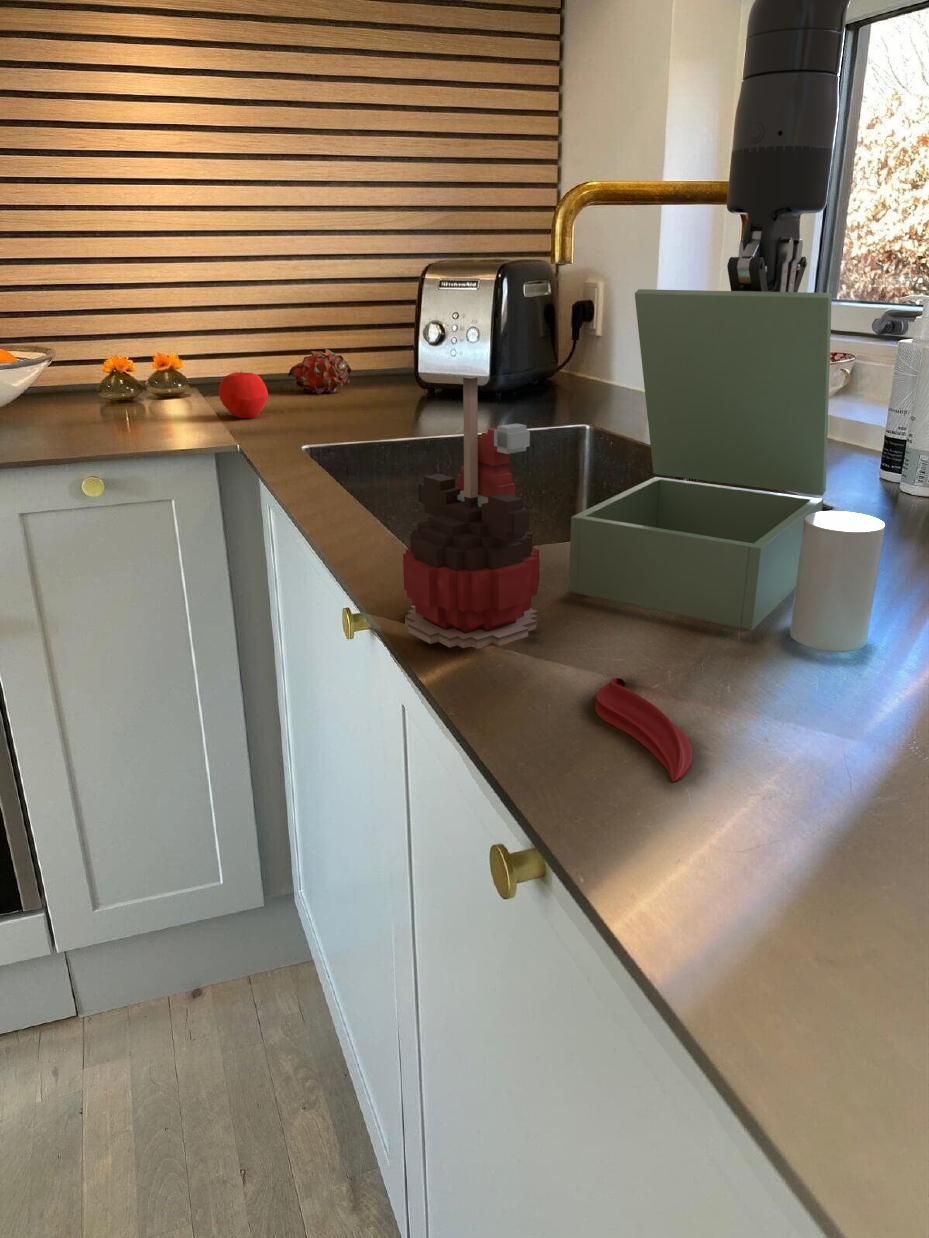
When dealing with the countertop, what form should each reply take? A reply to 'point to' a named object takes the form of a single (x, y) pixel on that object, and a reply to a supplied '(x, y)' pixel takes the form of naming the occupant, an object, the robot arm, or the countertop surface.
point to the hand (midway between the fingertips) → (756, 376)
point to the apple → (243, 394)
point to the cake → (473, 545)
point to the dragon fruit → (321, 372)
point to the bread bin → (691, 549)
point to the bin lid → (737, 385)
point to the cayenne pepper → (645, 726)
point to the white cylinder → (836, 580)
